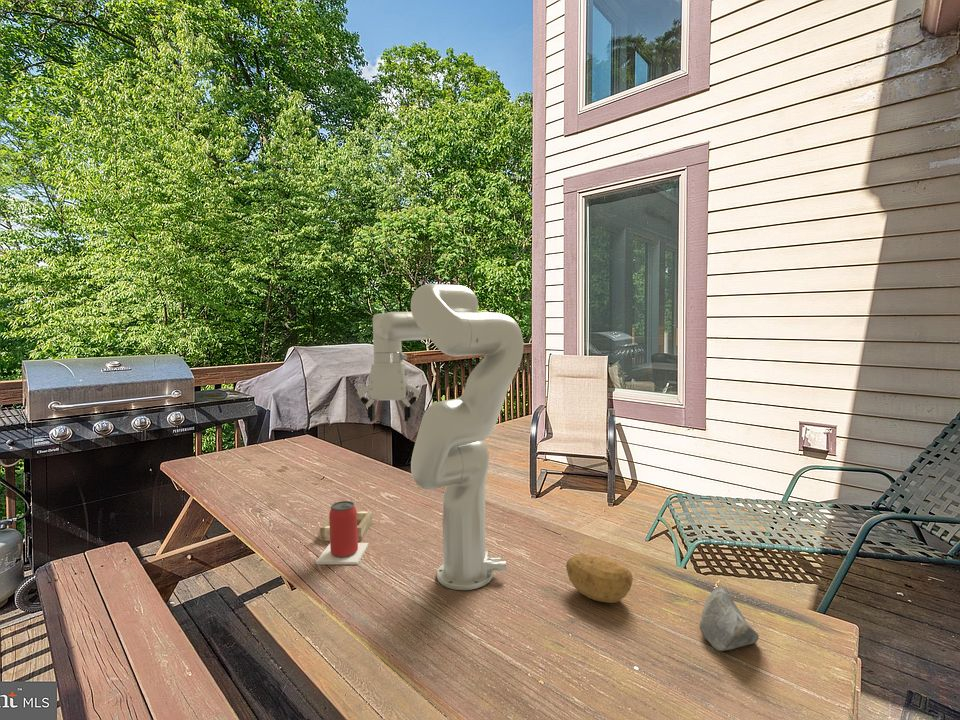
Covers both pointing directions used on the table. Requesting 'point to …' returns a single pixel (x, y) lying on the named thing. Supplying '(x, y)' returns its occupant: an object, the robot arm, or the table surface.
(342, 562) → the coaster
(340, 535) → the beer can
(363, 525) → the frame
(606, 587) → the potato
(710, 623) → the stone
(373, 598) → the table surface
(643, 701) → the table surface
